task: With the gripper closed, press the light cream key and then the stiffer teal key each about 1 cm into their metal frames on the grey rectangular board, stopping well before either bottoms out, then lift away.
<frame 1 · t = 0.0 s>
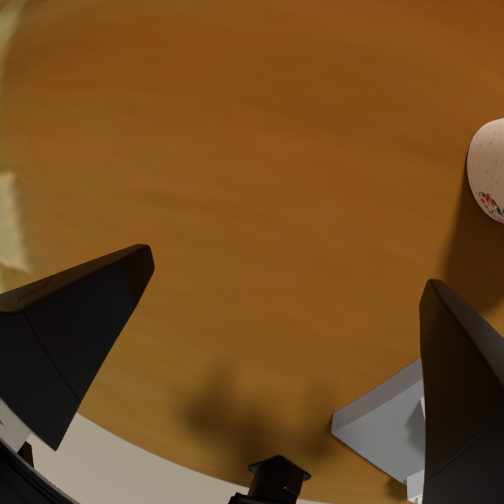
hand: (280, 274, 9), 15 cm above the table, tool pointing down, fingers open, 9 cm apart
grey rectangular board: (447, 423, 25), on the table
cream key: (444, 499, 19), point 7 cm above the table, slide at 0.0 cm
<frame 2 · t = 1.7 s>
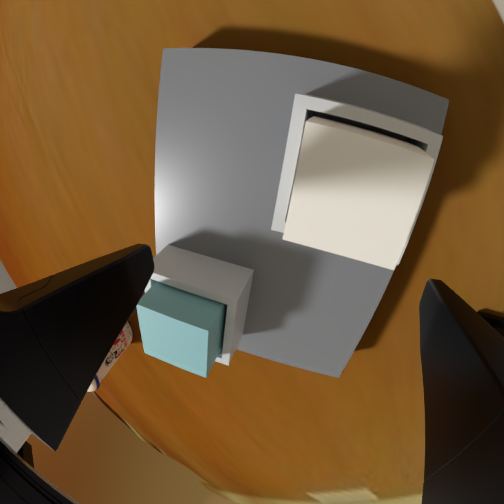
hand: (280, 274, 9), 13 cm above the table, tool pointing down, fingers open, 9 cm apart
grey rectangular board: (278, 221, 22), on the table
teal key: (182, 328, 20), point 7 cm above the table, slide at 0.0 cm
cream key: (355, 188, 12), point 7 cm above the table, slide at 0.0 cm
teacup with lid: (101, 309, 35), on the table
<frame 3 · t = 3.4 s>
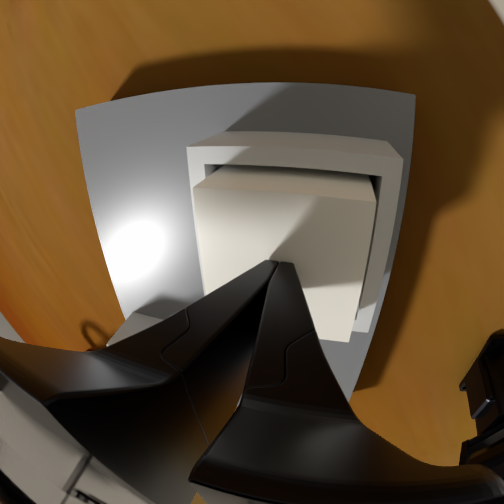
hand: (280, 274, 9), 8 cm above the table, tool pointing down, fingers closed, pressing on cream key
grey rectangular board: (241, 273, 20), on the table
cream key: (287, 248, 10), point 7 cm above the table, slide at 0.8 cm, touching gripper
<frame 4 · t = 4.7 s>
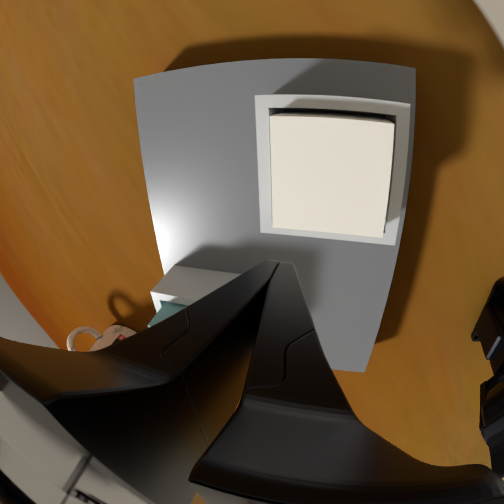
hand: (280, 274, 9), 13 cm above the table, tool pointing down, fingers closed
grey rectangular board: (276, 225, 22), on the table
teal key: (197, 344, 20), point 7 cm above the table, slide at 0.0 cm
cream key: (331, 169, 13), point 6 cm above the table, slide at 1.1 cm
teacup with lid: (126, 339, 37), on the table
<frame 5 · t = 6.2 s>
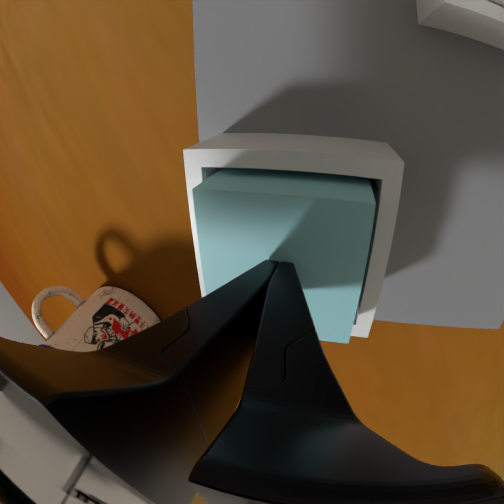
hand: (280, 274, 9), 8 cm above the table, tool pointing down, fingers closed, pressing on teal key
grey rectangular board: (392, 83, 11), on the table
teal key: (287, 249, 10), point 6 cm above the table, slide at 1.0 cm, touching gripper
teacup with lid: (120, 309, 26), on the table
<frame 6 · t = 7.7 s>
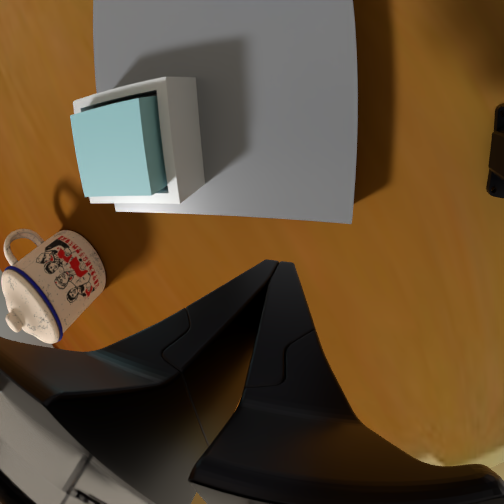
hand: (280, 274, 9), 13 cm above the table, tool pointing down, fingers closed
grey rectangular board: (220, 42, 16), on the table
teal key: (123, 145, 15), point 6 cm above the table, slide at 1.1 cm
teacup with lid: (72, 251, 30), on the table
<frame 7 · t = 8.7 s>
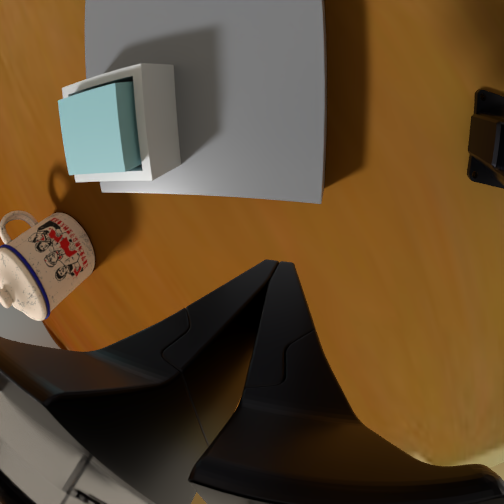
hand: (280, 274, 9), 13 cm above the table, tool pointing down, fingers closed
grey rectangular board: (201, 32, 17), on the table
teal key: (104, 127, 16), point 6 cm above the table, slide at 1.1 cm
teacup with lid: (65, 234, 31), on the table
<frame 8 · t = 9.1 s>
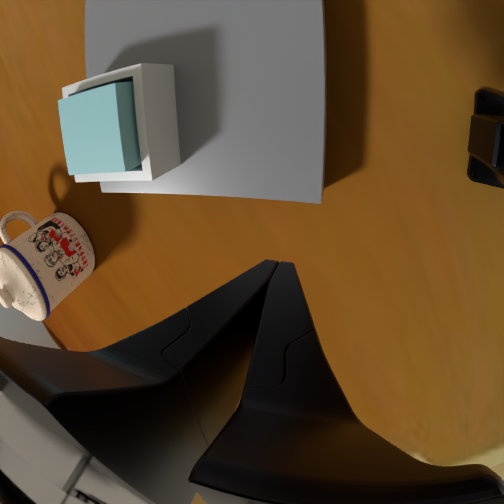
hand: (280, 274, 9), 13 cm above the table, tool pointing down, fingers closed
grey rectangular board: (201, 32, 17), on the table
teal key: (104, 127, 16), point 6 cm above the table, slide at 1.1 cm
teacup with lid: (65, 234, 31), on the table
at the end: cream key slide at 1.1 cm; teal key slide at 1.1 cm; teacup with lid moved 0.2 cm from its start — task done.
